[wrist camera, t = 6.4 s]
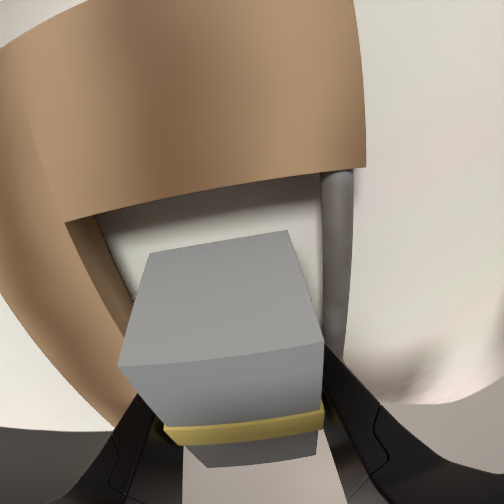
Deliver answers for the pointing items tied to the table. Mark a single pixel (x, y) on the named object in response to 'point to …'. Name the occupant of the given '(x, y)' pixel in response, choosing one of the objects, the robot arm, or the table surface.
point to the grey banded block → (229, 350)
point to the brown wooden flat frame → (163, 150)
